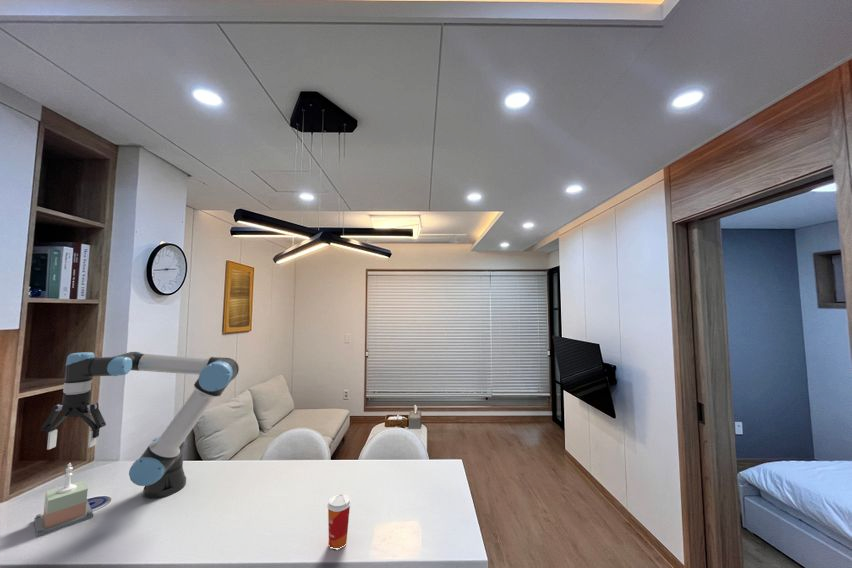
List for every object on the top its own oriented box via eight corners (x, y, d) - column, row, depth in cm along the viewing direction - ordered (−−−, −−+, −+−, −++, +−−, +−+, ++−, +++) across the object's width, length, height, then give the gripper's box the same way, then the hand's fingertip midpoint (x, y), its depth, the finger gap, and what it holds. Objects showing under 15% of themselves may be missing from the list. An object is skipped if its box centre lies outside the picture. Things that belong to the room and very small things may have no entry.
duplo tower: (87, 503, 132) (89, 476, 133) (93, 517, 124) (95, 488, 125) (34, 521, 121) (37, 491, 122) (36, 537, 113) (40, 505, 114)
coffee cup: (328, 536, 116) (330, 493, 118) (351, 535, 117) (352, 492, 118) (323, 553, 108) (324, 507, 109) (347, 552, 109) (349, 507, 110)
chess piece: (63, 494, 121) (66, 467, 121) (53, 492, 122) (56, 465, 122) (79, 487, 125) (82, 461, 126) (70, 485, 126) (73, 459, 127)
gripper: (120, 388, 132) (115, 441, 131) (49, 390, 128) (43, 444, 126) (105, 393, 125) (100, 449, 123) (29, 395, 121) (23, 453, 119)
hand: (71, 447), depth 125 cm, fingers open, 13 cm apart
